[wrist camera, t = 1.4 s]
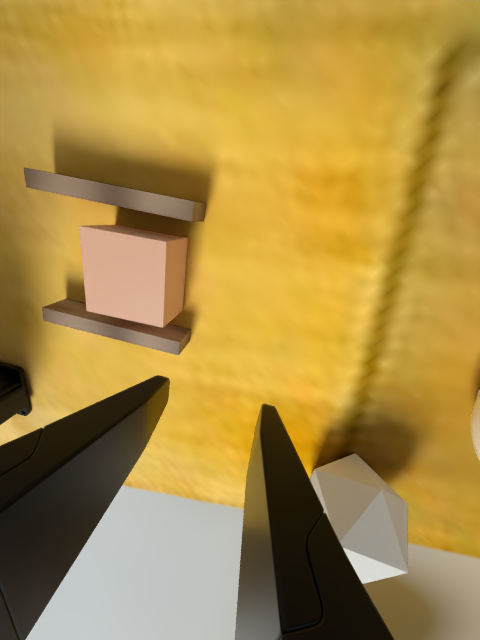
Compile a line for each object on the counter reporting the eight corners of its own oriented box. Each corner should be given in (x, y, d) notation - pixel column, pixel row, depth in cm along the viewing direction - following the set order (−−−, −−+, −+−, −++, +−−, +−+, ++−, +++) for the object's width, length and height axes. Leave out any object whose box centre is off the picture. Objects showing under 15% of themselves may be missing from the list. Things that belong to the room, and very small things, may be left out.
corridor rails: (66, 310, 24) (43, 320, 22) (54, 173, 20) (23, 167, 17) (189, 341, 23) (178, 355, 21) (205, 203, 18) (194, 201, 16)
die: (293, 432, 26) (268, 554, 21) (386, 447, 19) (380, 627, 14) (335, 456, 29) (322, 564, 25) (424, 475, 23) (429, 625, 18)
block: (119, 296, 23) (86, 311, 19) (116, 224, 20) (79, 225, 17) (183, 309, 22) (163, 327, 18) (188, 237, 20) (166, 242, 16)
